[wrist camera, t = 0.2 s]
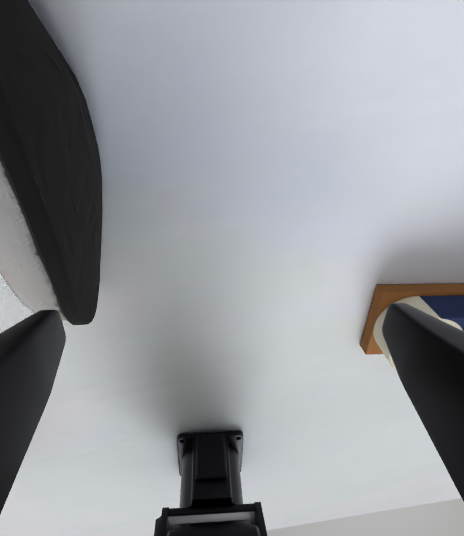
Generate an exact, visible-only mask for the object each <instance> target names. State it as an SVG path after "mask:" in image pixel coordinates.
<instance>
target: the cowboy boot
mask: <svg viewBox="0 0 464 536" xmlns="http://www.w3.org/2000/svg"><path fill="white" fill-rule="evenodd" d="M101 235H102V176H101V165H100V158H99V151H98V145H97V141H96V137H95V133H94V129H93V125H92V121H91V118H90V114H89V111H88V107H87V104H86V101H85V98H84V95H83V93H82V90H81V88H80V86H79V83H78V81H77V79H76V77H75V75H74V73H73V71H72V70H71V68H70V67H69V65H68V64H67V62H66V60H65V59H64V57H63V56H62V54H61V53H60V51H59V49H58V48H57V46H56V45H55V43H54V42H53V40H52V39H51V37H50V35H49V34H48V32H47V31H46V29H45V28H44V26H43V24H42V23H41V21H40V20H39V18H38V17H37V15H36V13H35V12H34V10H33V9H32V7H31V5H30V3H29V2H28V0H0V273H1V275H2V276H3V278H4V280H5V281H6V283H7V285H8V286H9V287H10V289H11V290H12V291H13V293H14V294H15V295H16V297H17V298H18V299H19V300H20V301H21V302H22V303H23V304H24V305H25V306H26V307H27V308H29V309H30V310H31V311H33V312H34V313H36V312H38V311H40V310H57V311H59V313H60V316H61V319H62V320H68V321H69V322H70V323H71V324H72V325H85V324H89V323H90V322H91V321H92V320H93V318H94V316H95V313H96V308H97V301H98V293H99V282H100V259H101Z"/></svg>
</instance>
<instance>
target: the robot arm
mask: <svg viewBox="0 0 464 536" xmlns="http://www.w3.org/2000/svg"><path fill="white" fill-rule="evenodd" d="M382 334H383V337H384V340H385V342H386V345H387V347H388V350H389V352H390V355H391V357H392V360H393V362H394V365H395V368H396V370H397V373H398V375H399V377H400V380H401V382H402V384H403V386H404V388H405V390H406V392H407V394H408V396H409V398H410V400H411V402H412V403H413V405H414V407H415V409H416V411H417V413H418V415H419V417H420V419H421V421H422V423H423V425H424V426H425V428H426V430H427V432H428V434H429V436H430V438H431V440H432V442H433V444H434V446H435V448H436V449H437V451H438V453H439V455H440V457H441V459H442V461H443V463H444V465H445V467H446V469H447V470H448V472H449V474H450V476H451V478H452V480H453V482H454V484H455V486H456V488H457V490H458V492H459V493H460V495H461V497H462V499H463V501H464V331H462V330H460V329H458V328H456V327H454V326H452V325H450V324H448V323H446V322H443V321H441V320H439V319H437V318H435V317H433V316H431V315H429V314H427V313H425V312H423V311H421V310H419V309H417V308H415V307H413V306H411V305H409V304H406V303H391V304H390V305H389V306H388V308H387V312H386V315H385V318H384V321H383V325H382ZM65 340H66V336H65V331H64V327H63V323H62V319H61V316H60V313H59V311H57V310H40V311H38V312H36V313H35V314H33V315H31V316H29V317H28V318H26V319H24V320H23V321H21V322H19V323H17V324H16V325H14V326H12V327H11V328H9V329H7V330H5V331H4V332H2V333H0V514H1V511H2V509H3V507H4V504H5V502H6V499H7V497H8V495H9V492H10V490H11V487H12V485H13V483H14V480H15V478H16V475H17V473H18V471H19V468H20V466H21V464H22V461H23V459H24V456H25V454H26V452H27V449H28V447H29V444H30V442H31V440H32V437H33V435H34V432H35V430H36V428H37V425H38V423H39V421H40V418H41V416H42V413H43V411H44V409H45V406H46V404H47V401H48V399H49V396H50V393H51V390H52V387H53V383H54V380H55V376H56V373H57V369H58V366H59V363H60V359H61V356H62V352H63V349H64V345H65ZM177 446H178V460H179V473H180V476H181V494H180V508H172V509H169V507H168V508H163V509H162V516H161V517H160V518H158V519H156V523H155V533H154V536H267V532H266V527H265V522H264V517H263V512H262V507H261V502H254V504H243V499H242V489H241V478H240V472H241V464H242V450H243V433H242V432H240V431H235V432H214V433H193V434H180V435H178V437H177Z"/></svg>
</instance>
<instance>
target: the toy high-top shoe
mask: <svg viewBox="0 0 464 536" xmlns="http://www.w3.org/2000/svg"><path fill="white" fill-rule="evenodd" d="M391 303H406V304H409V305H411V306H413V307H415V308H417V309H419V310H421V311H423V312H425V313H427V314H429V315H431V316H433V317H435V318H437V319H439V320H441V321H443V322H446V323H448V324H450V325H452V326H454V327H456V328H458V329H460V330H462V331H464V284H397V285H376V289H375V292H374V296H373V300H372V303H371V307H370V311H369V314H368V318H367V322H366V325H365V329H364V333H363V336H362V340H361V344H360V346H361V347H362V349H363V351H364V352H365V354H384V355H385V356H386V358H387V359H388V361H389V363H390V364H391V366H392V367H393V368H394V369H395V370H396V368H395V365H394V362H393V360H392V357H391V355H390V352H389V350H388V347H387V345H386V342H385V340H384V337H383V334H382V325H383V321H384V318H385V315H386V312H387V308H388V306H389V305H390V304H391ZM396 371H397V370H396Z"/></svg>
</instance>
